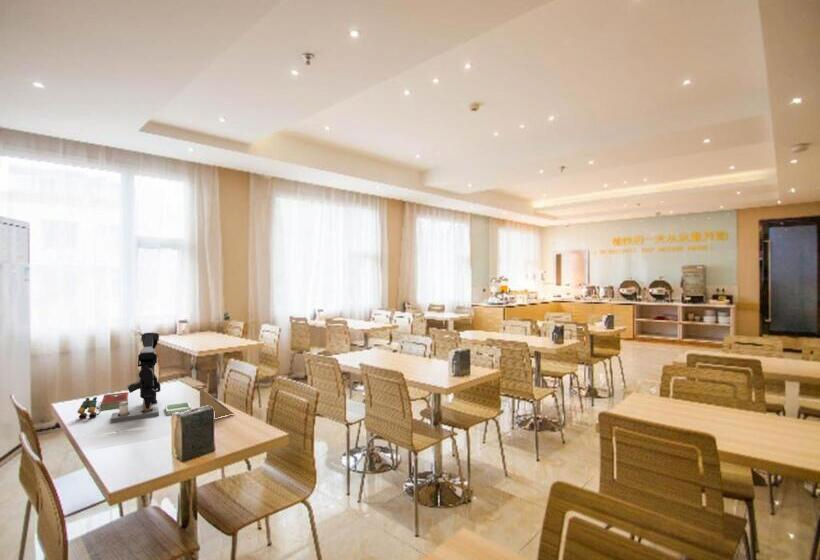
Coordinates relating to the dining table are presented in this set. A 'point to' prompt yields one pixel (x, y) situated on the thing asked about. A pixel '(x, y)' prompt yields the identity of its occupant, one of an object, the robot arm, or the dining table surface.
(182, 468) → the dining table surface
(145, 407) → the fuse
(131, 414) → the fuse block
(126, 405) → the fuse
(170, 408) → the parts tray
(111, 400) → the hardcover book
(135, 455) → the dining table surface
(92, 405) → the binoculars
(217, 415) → the sandwich container
